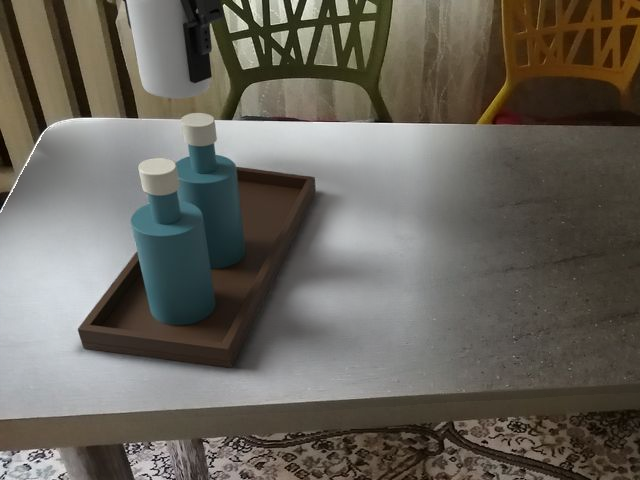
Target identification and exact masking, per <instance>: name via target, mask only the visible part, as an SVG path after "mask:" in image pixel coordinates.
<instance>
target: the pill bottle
mask: <svg viewBox="0 0 640 480" xmlns="http://www.w3.org/2000/svg"><path fill="white" fill-rule="evenodd" d="M126 2H127V7H128V13H129V18H130V24H131V29H132V30H131V29H130V30H131V35H133V36H132V41H133V40H134V42H133V47H134V46H135V48H134V52H135V51H136V54H135V58H136V57H137V60H136V61H137V66H138V67H137V68H138V73H139V78H140V81H141V85H142V87H143V89H144V90H145V91H146V92H147V93H148V94H151V95H152V96H155V97H159V98H165V99H189V98H193V97H197V96H200V95H203V94H204V93H206V92H207V91H208V90H209V89H210V87H211V78H208V79H206V80H203V81H200V82H198V83H193V82H190V76H189V68H188V61H187V53H186V45H185V37H184V29H183V24H184V23H185V22H188V19H187V16H186V14H185V11H184V9H183V6H182V4H181V1H180V0H126ZM196 13H198V9H197V10H196Z"/></svg>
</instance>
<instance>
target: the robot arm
mask: <svg viewBox="0 0 640 480" xmlns="http://www.w3.org/2000/svg"><path fill="white" fill-rule="evenodd" d="M180 1H181V4H182V6H183V9H184V11H185V14H186V16H187V19H188V22H185V23H184V24H183V29H184V37H185V45H186V53H187V61H188V68H189V76H190V82H193V83H198V82H200V81H203V80H206V79H208V78H210V79H211V78H212V77H213V74H212V66H211V56H210V53H212V50H213V45H212V36H211V24H213V23H217V22H219V21H223V19H224V18H225V16H224V10H223V6H222V0H180ZM122 2H124V7H125V14H126V19H127V24H128V27H129V29H130V30H131V31H132V29H131V24H130V18H129V13H128V7H127V2H126V0H122ZM197 9H198V13H196V10H197ZM131 35H132V34H131ZM132 37H133V35H132ZM132 41H133V43H134V40H133V39H132ZM133 47H134V49H135V46H134V45H133ZM134 54H135V55H136V51H135V50H134ZM135 59H136V61H137V57H136V56H135Z"/></svg>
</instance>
